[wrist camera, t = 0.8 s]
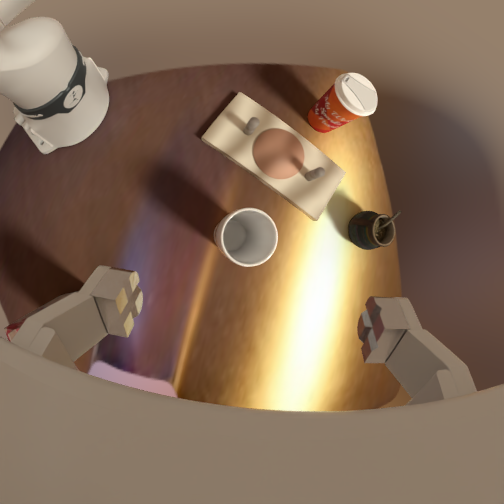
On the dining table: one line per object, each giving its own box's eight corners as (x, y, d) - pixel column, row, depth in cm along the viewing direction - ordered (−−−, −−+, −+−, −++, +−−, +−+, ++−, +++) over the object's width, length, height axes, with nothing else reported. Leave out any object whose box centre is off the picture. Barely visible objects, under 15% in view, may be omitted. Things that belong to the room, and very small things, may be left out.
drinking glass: (209, 213, 45) (220, 205, 31) (250, 215, 47) (279, 208, 32) (208, 256, 46) (219, 267, 31) (249, 256, 47) (278, 267, 33)
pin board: (201, 139, 44) (203, 127, 38) (238, 95, 45) (245, 79, 39) (313, 220, 49) (329, 219, 44) (341, 173, 50) (359, 168, 44)
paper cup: (295, 119, 47) (330, 87, 34) (314, 95, 48) (351, 62, 34) (327, 146, 49) (370, 123, 36) (344, 120, 50) (387, 95, 36)
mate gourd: (338, 240, 51) (369, 241, 41) (350, 203, 51) (383, 198, 42) (366, 254, 53) (399, 258, 43) (377, 220, 53) (411, 218, 43)
